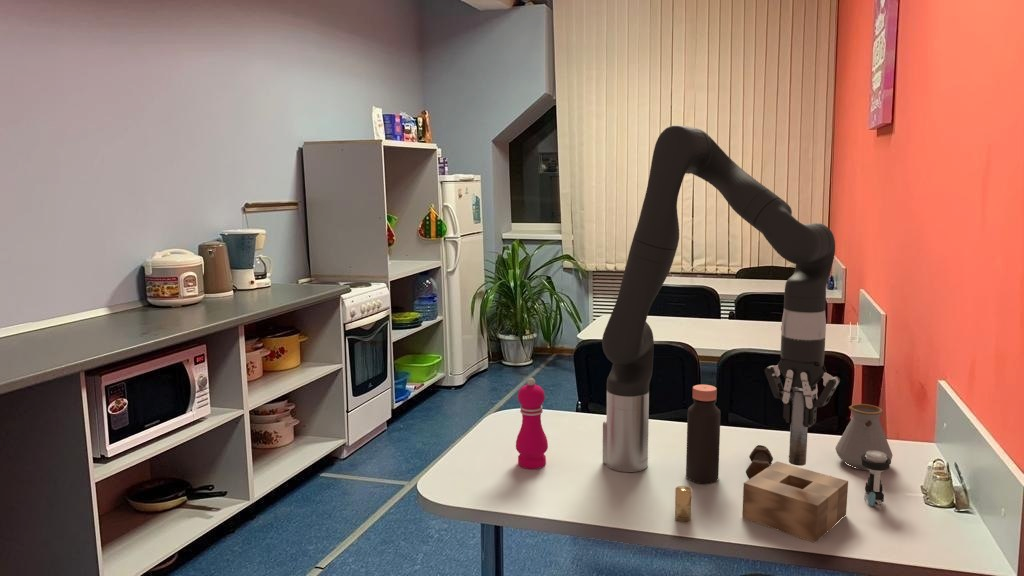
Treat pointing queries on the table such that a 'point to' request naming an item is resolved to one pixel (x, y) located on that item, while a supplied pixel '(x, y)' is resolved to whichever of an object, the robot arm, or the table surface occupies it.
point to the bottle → (703, 436)
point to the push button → (875, 476)
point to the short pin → (683, 504)
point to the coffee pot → (862, 436)
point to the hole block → (795, 500)
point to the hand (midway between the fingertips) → (799, 423)
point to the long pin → (798, 429)
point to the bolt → (759, 460)
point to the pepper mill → (531, 427)
